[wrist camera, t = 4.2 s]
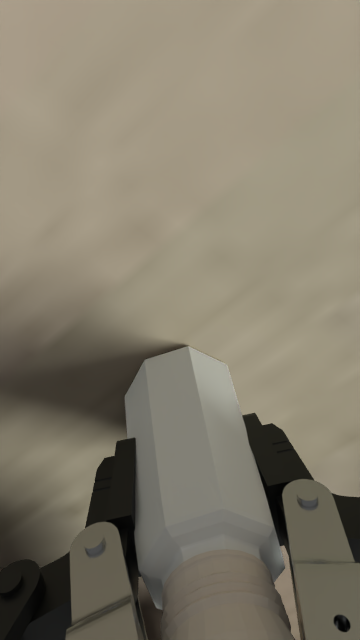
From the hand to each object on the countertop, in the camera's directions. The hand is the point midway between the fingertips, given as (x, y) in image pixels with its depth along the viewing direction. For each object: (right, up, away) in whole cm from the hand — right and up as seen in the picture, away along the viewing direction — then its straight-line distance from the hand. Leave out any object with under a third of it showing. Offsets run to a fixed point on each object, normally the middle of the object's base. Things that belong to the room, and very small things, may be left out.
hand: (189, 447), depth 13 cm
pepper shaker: (0, +1, +4) cm, 4 cm away
